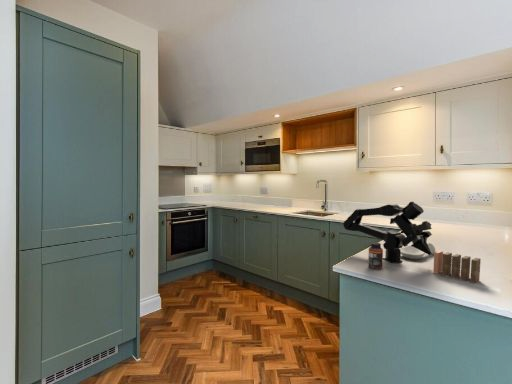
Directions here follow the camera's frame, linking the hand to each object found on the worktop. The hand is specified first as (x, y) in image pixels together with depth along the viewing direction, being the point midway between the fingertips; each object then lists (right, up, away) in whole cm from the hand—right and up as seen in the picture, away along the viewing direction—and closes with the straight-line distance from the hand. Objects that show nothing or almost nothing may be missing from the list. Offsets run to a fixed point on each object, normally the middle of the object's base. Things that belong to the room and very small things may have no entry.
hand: (430, 254), depth 125 cm
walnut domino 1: (+4, -8, -5) cm, 10 cm away
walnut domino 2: (+6, -8, -7) cm, 12 cm away
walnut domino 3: (+8, -8, -10) cm, 15 cm away
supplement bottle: (-23, -7, +2) cm, 25 cm away
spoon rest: (+8, -7, +23) cm, 25 cm away
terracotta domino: (+2, -7, -2) cm, 8 cm away
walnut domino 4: (+10, -8, -13) cm, 18 cm away
